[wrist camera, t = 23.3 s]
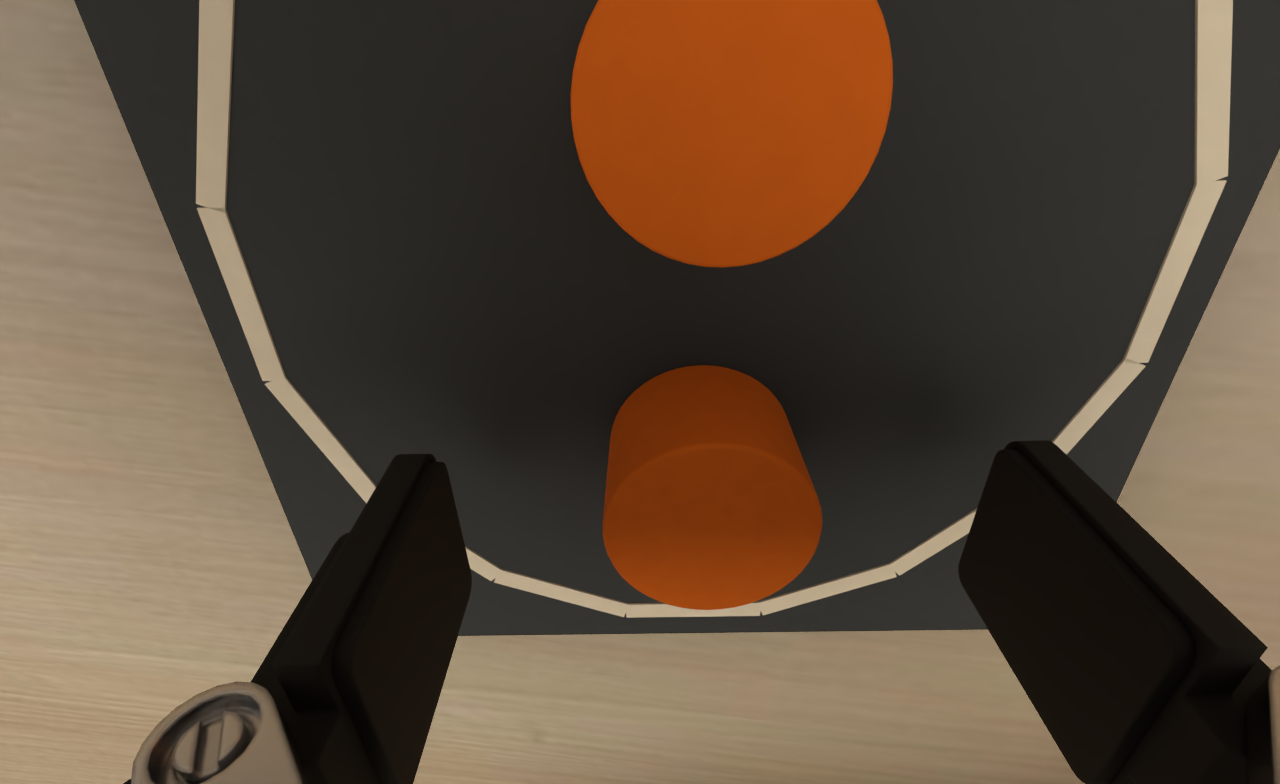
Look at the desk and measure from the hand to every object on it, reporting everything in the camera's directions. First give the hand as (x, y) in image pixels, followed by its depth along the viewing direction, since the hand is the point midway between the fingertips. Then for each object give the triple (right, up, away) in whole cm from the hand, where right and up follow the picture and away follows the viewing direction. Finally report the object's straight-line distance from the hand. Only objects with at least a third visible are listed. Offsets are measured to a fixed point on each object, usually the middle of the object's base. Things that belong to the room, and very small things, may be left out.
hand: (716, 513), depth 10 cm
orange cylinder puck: (0, +7, 0) cm, 7 cm away
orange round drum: (0, +1, +3) cm, 3 cm away
